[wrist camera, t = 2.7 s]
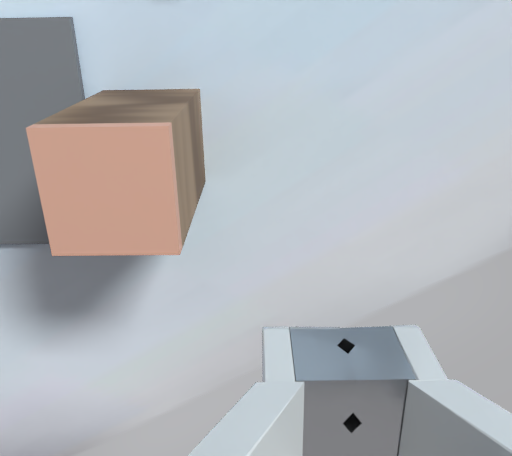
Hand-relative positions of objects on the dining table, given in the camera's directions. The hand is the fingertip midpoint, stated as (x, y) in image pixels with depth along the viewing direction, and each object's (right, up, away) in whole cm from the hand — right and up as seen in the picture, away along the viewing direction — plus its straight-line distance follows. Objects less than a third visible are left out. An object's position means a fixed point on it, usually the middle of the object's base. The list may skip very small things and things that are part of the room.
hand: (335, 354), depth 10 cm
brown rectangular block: (-7, +7, +17) cm, 19 cm away
